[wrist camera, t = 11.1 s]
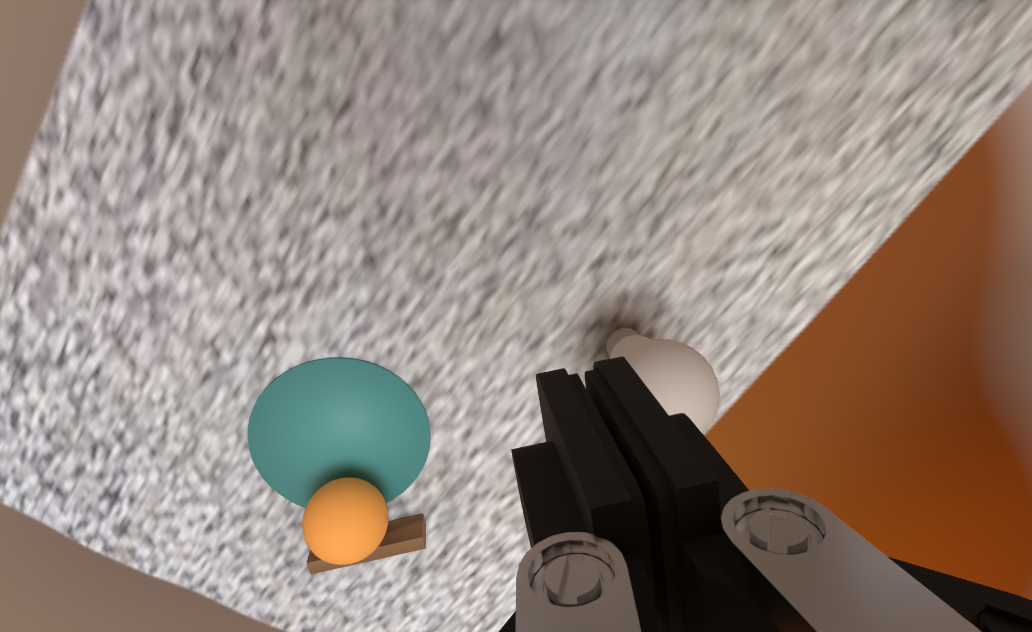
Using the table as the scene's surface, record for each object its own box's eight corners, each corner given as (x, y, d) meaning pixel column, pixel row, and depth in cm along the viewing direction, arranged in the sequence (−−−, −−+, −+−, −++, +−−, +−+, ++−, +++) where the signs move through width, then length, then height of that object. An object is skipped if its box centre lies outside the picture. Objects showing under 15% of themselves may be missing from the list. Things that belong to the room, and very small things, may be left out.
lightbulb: (594, 394, 42) (647, 488, 32) (564, 320, 40) (611, 396, 30) (673, 359, 42) (752, 442, 32) (648, 284, 40) (723, 347, 30)
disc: (223, 378, 38) (222, 379, 38) (409, 341, 39) (409, 342, 39) (279, 527, 42) (278, 529, 42) (445, 491, 43) (445, 492, 43)
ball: (308, 478, 42) (284, 499, 37) (385, 462, 43) (372, 480, 37) (322, 555, 42) (300, 587, 37) (399, 538, 43) (389, 567, 37)
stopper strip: (313, 538, 43) (306, 563, 41) (422, 513, 44) (422, 537, 41) (317, 548, 43) (310, 574, 41) (425, 524, 44) (425, 548, 42)
